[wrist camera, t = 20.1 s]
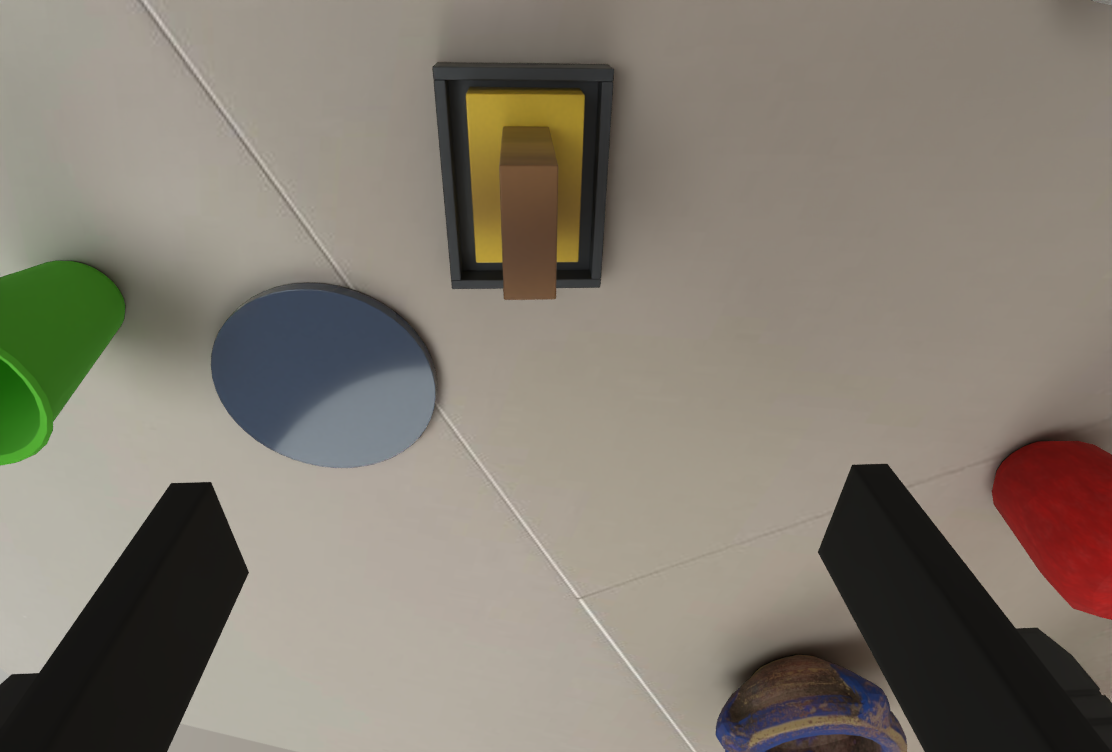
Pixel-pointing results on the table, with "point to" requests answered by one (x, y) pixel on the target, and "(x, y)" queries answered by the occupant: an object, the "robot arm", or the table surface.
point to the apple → (1063, 517)
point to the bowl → (808, 711)
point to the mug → (1104, 1)
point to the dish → (456, 162)
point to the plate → (324, 375)
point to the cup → (49, 346)
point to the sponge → (526, 182)
